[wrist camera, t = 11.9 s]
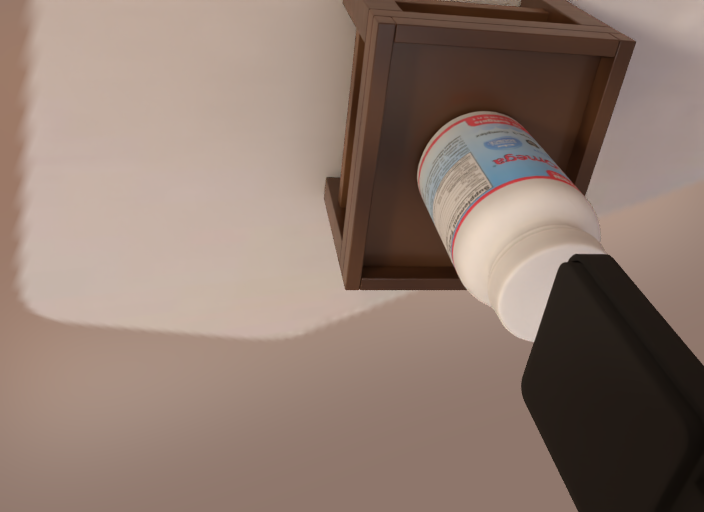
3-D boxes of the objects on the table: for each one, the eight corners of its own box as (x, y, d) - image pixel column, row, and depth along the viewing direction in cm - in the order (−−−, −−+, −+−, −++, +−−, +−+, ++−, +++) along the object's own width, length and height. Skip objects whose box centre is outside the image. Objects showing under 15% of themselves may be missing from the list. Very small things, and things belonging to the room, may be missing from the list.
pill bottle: (553, 140, 34) (672, 264, 25) (482, 232, 37) (566, 376, 27) (460, 84, 32) (553, 199, 22) (390, 187, 34) (448, 329, 25)
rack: (345, -27, 37) (378, 22, 28) (549, -10, 39) (636, 41, 30) (323, 198, 44) (345, 290, 36) (496, 203, 46) (554, 290, 38)
